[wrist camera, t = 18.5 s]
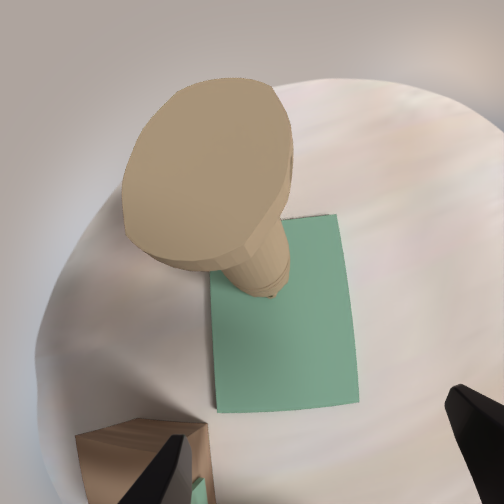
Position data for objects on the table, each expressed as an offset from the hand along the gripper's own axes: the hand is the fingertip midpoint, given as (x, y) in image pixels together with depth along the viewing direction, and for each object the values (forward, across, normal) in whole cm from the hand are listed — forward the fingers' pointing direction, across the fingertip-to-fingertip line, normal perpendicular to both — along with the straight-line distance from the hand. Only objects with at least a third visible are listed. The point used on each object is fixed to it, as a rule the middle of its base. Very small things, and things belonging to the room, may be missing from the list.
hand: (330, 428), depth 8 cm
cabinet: (+5, +10, +16) cm, 19 cm away
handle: (+15, +1, +1) cm, 15 cm away
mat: (+13, 0, +4) cm, 14 cm away
